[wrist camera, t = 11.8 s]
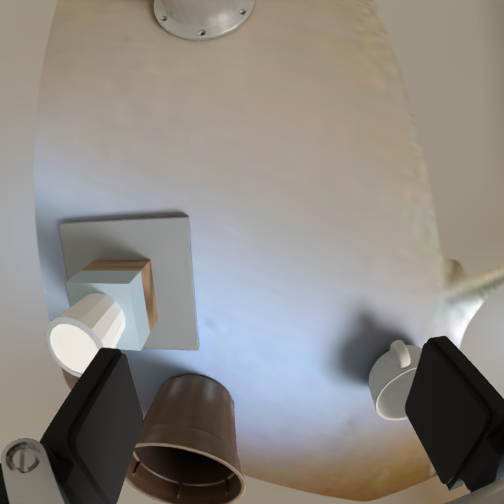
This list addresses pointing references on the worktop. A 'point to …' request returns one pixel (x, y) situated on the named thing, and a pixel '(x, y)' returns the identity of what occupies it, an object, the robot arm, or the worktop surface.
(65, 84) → the worktop surface
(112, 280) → the brick
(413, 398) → the robot arm
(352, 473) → the worktop surface
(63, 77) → the worktop surface
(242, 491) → the plant pot
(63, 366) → the white rounded piece
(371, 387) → the teacup
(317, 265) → the worktop surface
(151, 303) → the brick
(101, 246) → the plate
